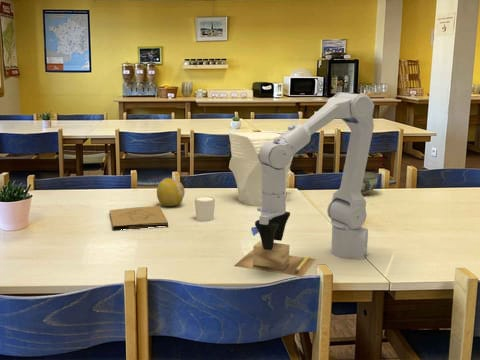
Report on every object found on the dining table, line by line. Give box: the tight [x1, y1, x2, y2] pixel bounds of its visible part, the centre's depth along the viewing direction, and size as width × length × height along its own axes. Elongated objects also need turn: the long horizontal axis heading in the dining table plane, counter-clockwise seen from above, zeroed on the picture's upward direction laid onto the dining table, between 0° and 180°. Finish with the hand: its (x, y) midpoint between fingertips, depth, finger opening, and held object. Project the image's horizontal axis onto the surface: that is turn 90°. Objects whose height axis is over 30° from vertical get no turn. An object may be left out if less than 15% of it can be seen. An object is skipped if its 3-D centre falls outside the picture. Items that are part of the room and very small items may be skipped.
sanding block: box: [252, 240, 290, 271], centre depth 138 cm, size 8×4×6 cm, turn 68°
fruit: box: [156, 177, 185, 207], centre depth 201 cm, size 10×11×10 cm
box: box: [109, 205, 169, 232], centre depth 183 cm, size 21×18×2 cm
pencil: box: [295, 255, 311, 273], centre depth 139 cm, size 11×1×1 cm, turn 158°
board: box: [233, 249, 317, 277], centre depth 142 cm, size 18×13×1 cm
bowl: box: [361, 171, 380, 196], centre depth 221 cm, size 14×13×8 cm
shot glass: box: [194, 196, 216, 222], centre depth 184 cm, size 7×7×7 cm
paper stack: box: [228, 131, 294, 206], centre depth 206 cm, size 21×27×26 cm
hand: (272, 244), depth 138 cm, fingers open, 7 cm apart
